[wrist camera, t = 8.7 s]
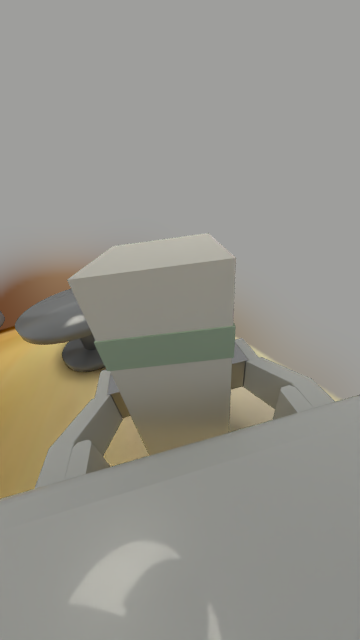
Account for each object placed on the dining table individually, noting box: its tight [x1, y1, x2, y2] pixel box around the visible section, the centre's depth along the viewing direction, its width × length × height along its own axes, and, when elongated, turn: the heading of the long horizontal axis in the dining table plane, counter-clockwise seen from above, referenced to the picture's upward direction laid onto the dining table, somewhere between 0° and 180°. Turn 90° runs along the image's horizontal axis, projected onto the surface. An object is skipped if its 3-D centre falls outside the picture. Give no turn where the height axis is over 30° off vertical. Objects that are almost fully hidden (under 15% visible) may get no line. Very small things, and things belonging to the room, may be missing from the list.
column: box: [67, 233, 236, 456], centre depth 10 cm, size 4×4×14 cm
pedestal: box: [15, 289, 105, 372], centre depth 24 cm, size 13×13×7 cm
